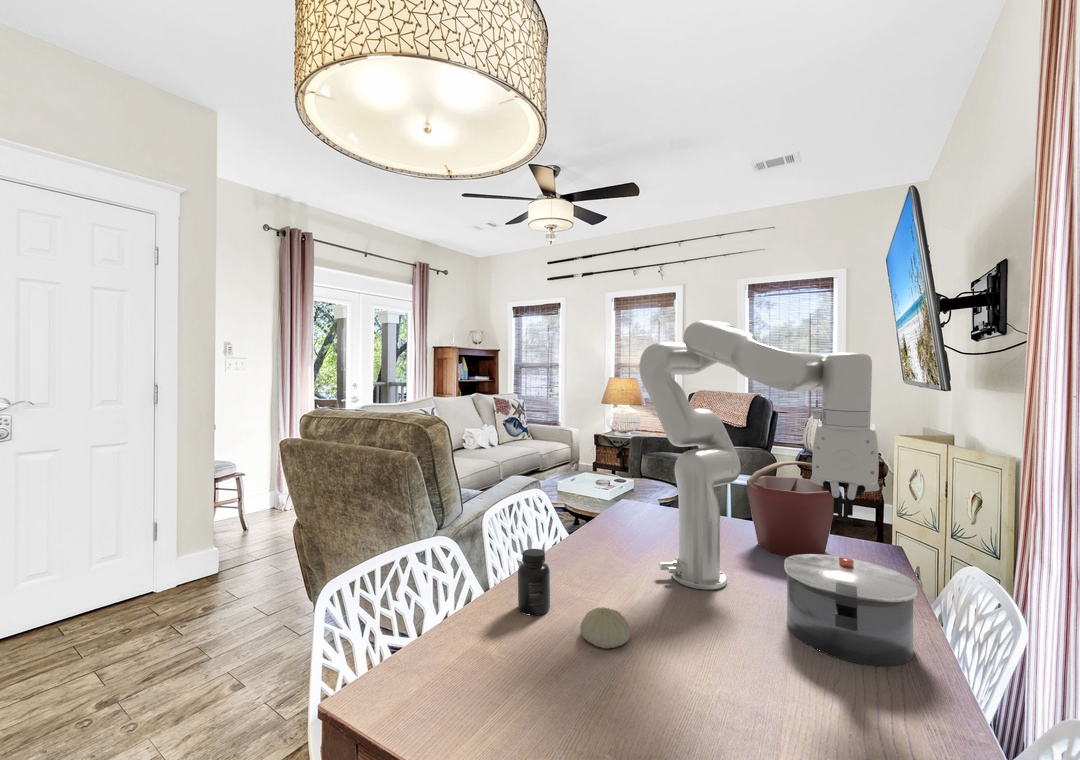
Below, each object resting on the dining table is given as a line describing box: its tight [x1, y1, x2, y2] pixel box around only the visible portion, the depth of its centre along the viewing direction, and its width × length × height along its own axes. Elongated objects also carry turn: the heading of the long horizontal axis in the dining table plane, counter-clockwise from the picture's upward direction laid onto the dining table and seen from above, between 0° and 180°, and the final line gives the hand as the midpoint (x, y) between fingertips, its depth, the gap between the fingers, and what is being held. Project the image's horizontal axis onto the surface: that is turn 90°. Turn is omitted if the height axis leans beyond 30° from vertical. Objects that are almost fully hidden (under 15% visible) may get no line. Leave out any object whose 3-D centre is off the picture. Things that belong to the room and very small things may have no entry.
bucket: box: [746, 460, 835, 558], centre depth 134 cm, size 24×22×25 cm
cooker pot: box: [786, 573, 914, 668], centre depth 87 cm, size 27×20×10 cm
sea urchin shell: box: [580, 607, 631, 649], centre depth 88 cm, size 9×8×8 cm
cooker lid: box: [783, 554, 918, 608], centre depth 87 cm, size 26×21×2 cm
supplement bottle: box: [517, 548, 551, 616], centre depth 99 cm, size 7×7×12 cm
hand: (842, 518), depth 87 cm, fingers closed
